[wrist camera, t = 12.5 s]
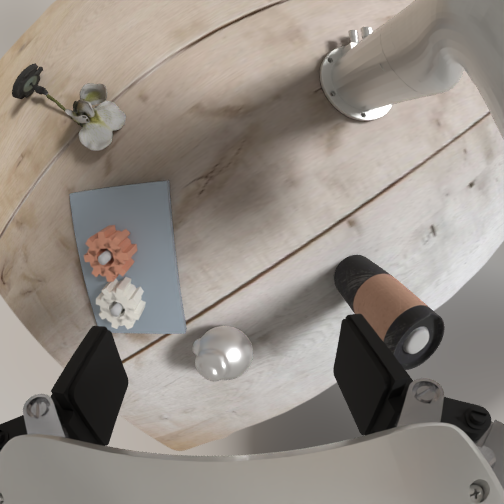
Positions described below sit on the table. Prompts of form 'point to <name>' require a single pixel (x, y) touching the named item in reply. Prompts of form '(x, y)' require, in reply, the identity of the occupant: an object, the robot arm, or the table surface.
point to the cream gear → (125, 296)
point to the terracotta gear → (115, 244)
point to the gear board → (146, 258)
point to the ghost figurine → (223, 353)
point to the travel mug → (390, 310)
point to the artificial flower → (79, 108)
